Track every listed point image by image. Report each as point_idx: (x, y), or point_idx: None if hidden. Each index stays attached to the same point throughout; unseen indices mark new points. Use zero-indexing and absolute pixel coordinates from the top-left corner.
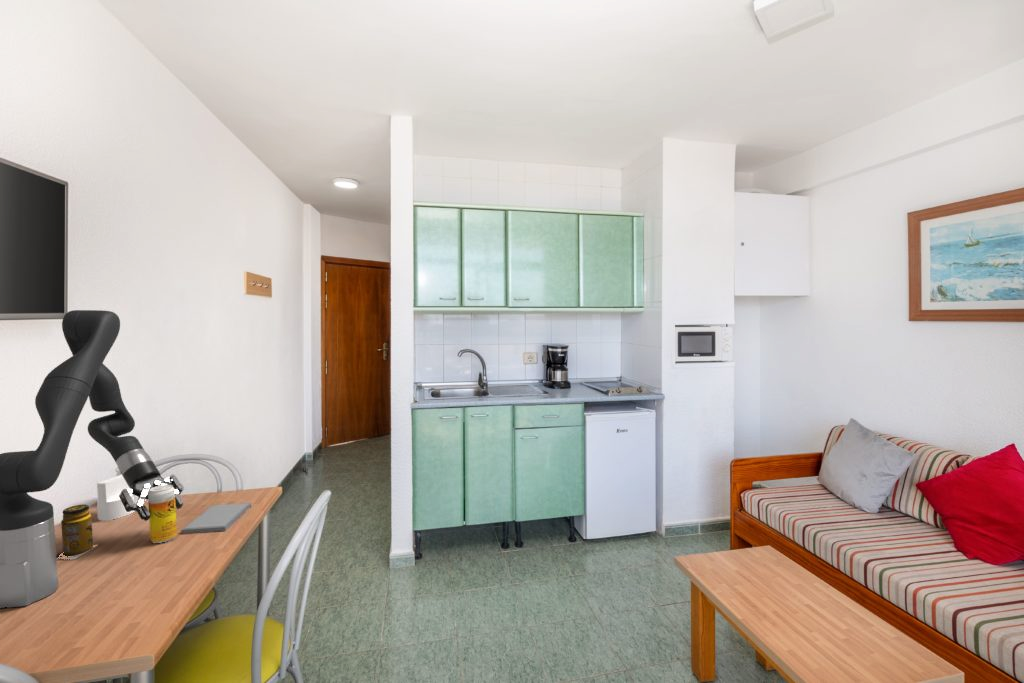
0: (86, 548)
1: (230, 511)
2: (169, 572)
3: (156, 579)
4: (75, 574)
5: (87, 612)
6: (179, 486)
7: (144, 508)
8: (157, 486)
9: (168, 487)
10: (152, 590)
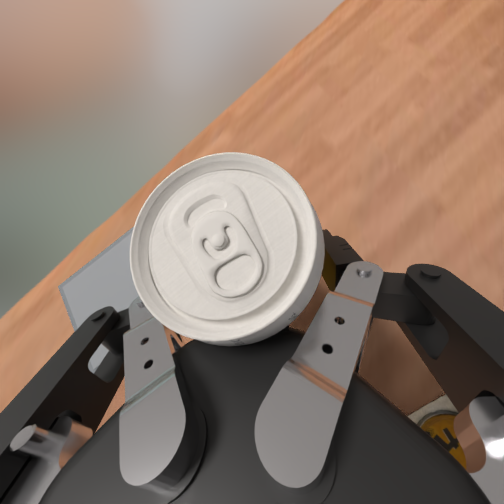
0: (443, 418)
1: (109, 276)
2: (326, 108)
3: (351, 99)
4: (480, 259)
5: (475, 67)
6: (88, 334)
7: (338, 253)
8: (206, 338)
9: (174, 213)
10: (369, 67)
